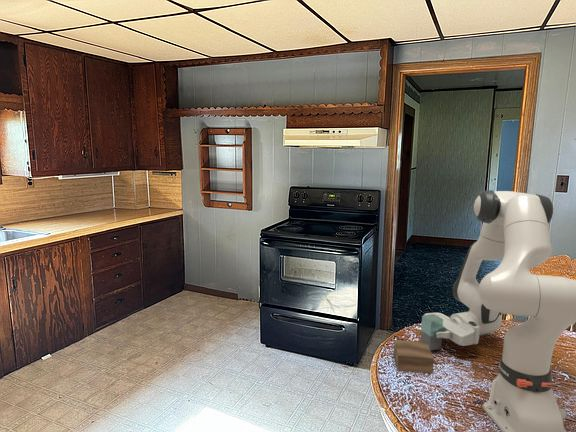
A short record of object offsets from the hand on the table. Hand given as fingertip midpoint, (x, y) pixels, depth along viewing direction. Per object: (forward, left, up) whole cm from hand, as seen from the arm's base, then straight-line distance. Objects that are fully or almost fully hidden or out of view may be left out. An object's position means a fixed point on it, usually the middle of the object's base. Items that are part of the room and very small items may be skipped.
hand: (429, 330), depth 144 cm
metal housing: (0, -1, -6) cm, 6 cm away
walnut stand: (-10, +7, -7) cm, 14 cm away
